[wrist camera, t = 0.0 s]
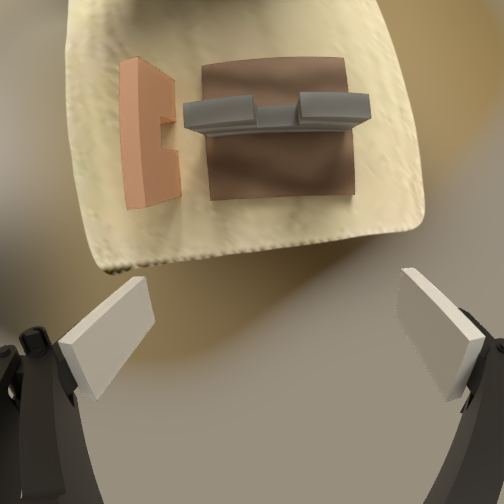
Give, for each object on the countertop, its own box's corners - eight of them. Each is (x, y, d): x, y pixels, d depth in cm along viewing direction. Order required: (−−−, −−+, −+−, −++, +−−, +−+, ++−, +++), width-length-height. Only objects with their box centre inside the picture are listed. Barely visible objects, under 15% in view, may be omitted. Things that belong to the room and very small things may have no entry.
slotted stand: (204, 69, 35) (172, 33, 22) (341, 61, 33) (365, 21, 20) (213, 199, 41) (182, 215, 28) (352, 193, 39) (384, 207, 26)
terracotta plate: (159, 83, 36) (119, 62, 25) (174, 80, 36) (138, 55, 25) (166, 196, 42) (127, 209, 30) (181, 195, 41) (145, 207, 30)
